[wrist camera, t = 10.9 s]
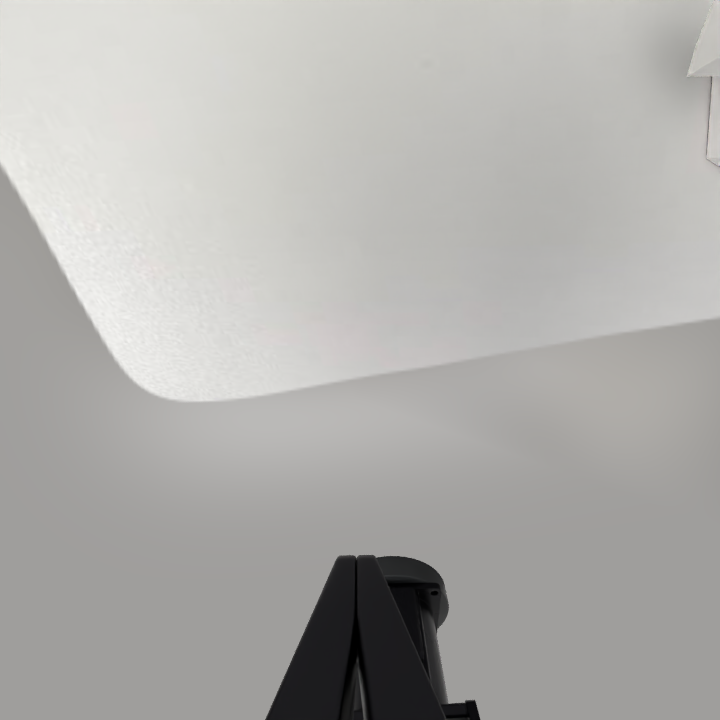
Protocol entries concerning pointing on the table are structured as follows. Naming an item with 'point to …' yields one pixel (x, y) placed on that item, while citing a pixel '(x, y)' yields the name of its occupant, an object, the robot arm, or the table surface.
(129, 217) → the table surface
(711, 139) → the mug
